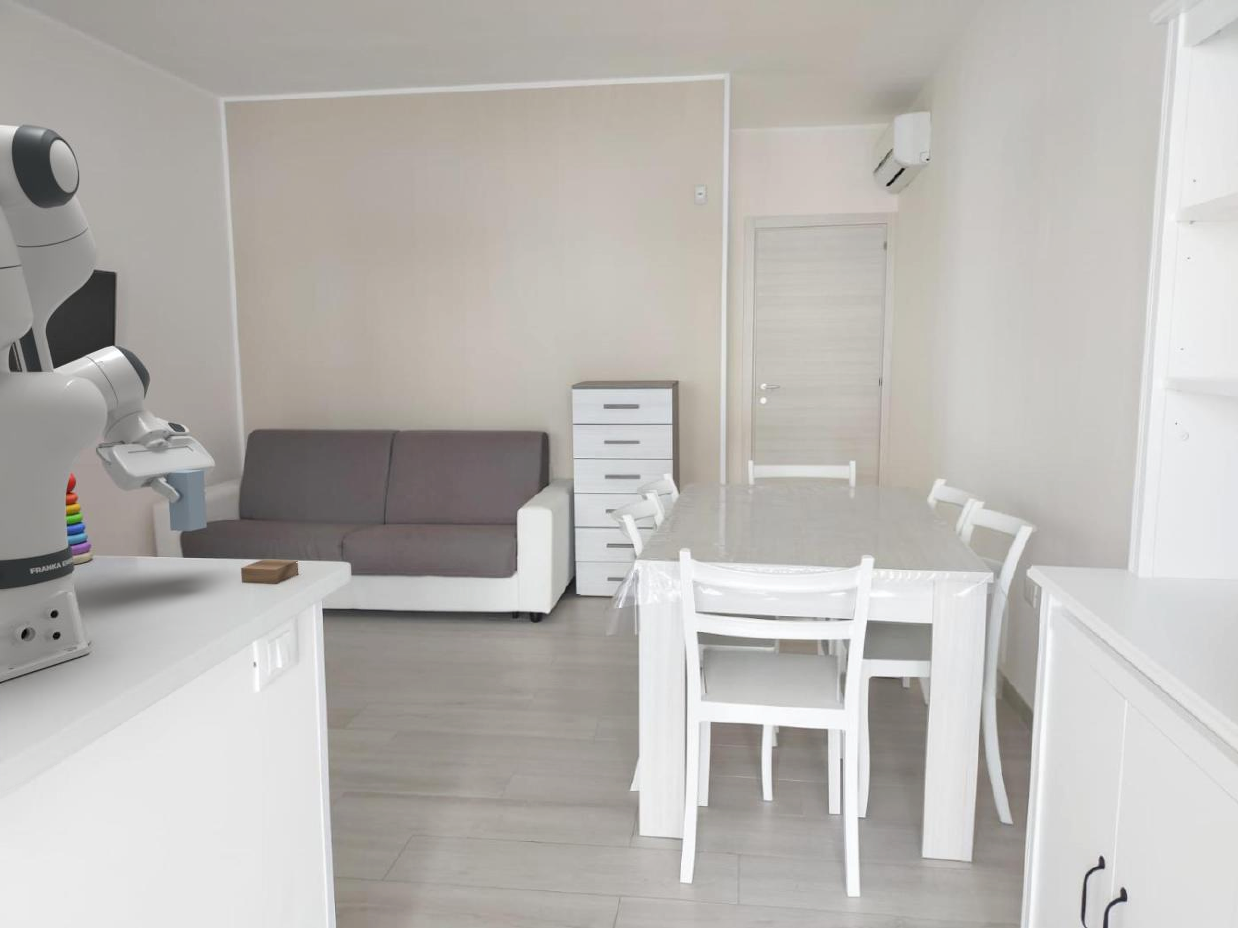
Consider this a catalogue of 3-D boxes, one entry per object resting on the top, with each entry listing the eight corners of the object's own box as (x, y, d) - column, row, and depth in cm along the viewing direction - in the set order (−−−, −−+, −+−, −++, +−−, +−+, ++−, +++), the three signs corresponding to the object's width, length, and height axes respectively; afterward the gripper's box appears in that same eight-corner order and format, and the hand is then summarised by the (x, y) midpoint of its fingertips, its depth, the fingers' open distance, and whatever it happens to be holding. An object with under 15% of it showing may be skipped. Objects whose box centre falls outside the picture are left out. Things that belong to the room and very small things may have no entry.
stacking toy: (49, 559, 179) (41, 468, 177) (95, 555, 183) (87, 465, 180) (43, 568, 172) (34, 473, 170) (91, 564, 176) (82, 470, 173)
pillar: (190, 531, 151) (186, 472, 150) (170, 530, 152) (167, 472, 151) (206, 527, 155) (203, 470, 154) (187, 526, 156) (184, 469, 155)
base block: (276, 586, 159) (275, 569, 159) (242, 584, 160) (241, 568, 160) (298, 576, 166) (297, 560, 165) (265, 574, 167) (264, 558, 167)
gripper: (100, 431, 143) (154, 492, 142) (191, 424, 163) (239, 478, 162) (80, 458, 145) (132, 519, 143) (173, 448, 165) (220, 502, 163)
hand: (190, 497), depth 153 cm, fingers closed on pillar, 4 cm apart
